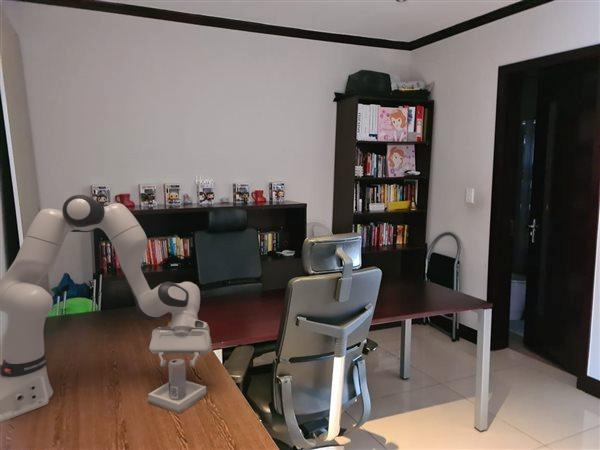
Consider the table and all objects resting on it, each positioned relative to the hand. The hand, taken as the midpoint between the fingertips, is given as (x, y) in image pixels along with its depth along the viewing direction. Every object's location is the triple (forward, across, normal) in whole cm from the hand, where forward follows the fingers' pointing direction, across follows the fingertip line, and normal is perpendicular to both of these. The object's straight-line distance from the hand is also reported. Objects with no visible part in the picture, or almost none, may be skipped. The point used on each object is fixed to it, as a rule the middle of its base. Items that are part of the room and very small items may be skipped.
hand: (177, 366), depth 151 cm
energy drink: (+8, 0, +6) cm, 10 cm away
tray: (+8, 0, +7) cm, 11 cm away
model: (-25, -17, +41) cm, 51 cm away
